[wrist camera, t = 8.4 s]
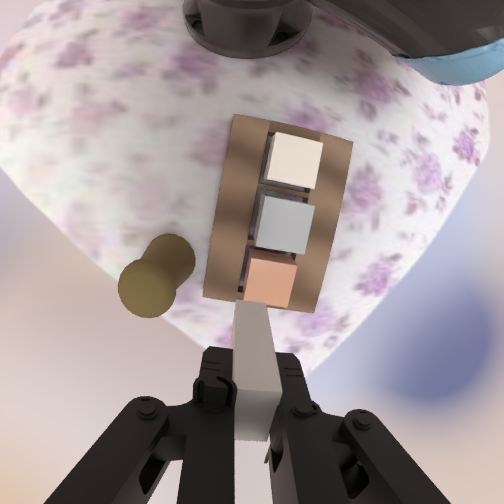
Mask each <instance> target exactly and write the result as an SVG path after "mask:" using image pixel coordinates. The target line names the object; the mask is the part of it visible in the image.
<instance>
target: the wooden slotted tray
mask: <svg viewBox="0 0 504 504" xmlns="http://www.w3.org/2000/svg"><path fill="white" fill-rule="evenodd" d="M276 132H279V133H284V134H288V135H292V136H297V137H301V138H305V139H309V140H313V141H317V142H321V143H323V147H322V152H321V158H320V163H319V168H318V174H317V179H316V184H315V189H310V188H306V192H305V193H304V192H300V191H295V190H291V189H286V188H281V187H276V186H271V185H266V184H261V183H258V181H259V176H260V171H261V166H262V160H263V155H264V150H265V145H266V140H267V135H270V136H273V135H274V134H275V133H276ZM352 146H353V142H352V141H348V140H345V139H342V138H338V137H335V136H331V135H328V134H324V133H321V132H317V131H313V130H309V129H305V128H301V127H297V126H293V125H289V124H284V123H280V122H275V121H270V120H265V119H260V118H255V117H250V116H244V115H238V114H234V118H233V123H232V127H231V132H230V137H229V142H228V147H227V152H226V157H225V163H224V168H223V173H222V179H221V184H220V189H219V195H218V201H217V206H216V212H215V218H214V224H213V230H212V236H211V242H210V249H209V255H208V262H207V268H206V275H205V282H204V289H203V296H202V297H206V298H212V299H218V300H224V301H230V302H236V299H237V300H243V287H242V286H239V281H240V276H241V270H242V265H243V260H244V254H245V249H246V244H248V245H254V246H255V242H254V238H253V237H250V236H248V233H249V228H250V223H251V217H252V212H253V207H254V202H255V197H256V191H257V188H261V189H266V190H271V191H276V192H281V193H286V194H291V195H296V196H301V197H304V201H303V202H305V203H308V204H310V205H313V206H315V209H314V213H313V218H312V223H311V227H310V232H309V236H308V241H307V245H306V249H305V254H304V255H303V254H298V253H292V258H293V260H294V261H295V263H296V264H297V270H296V274H295V278H294V283H293V287H292V291H291V295H290V299H289V303H288V306H287V308H286V307H278V306H271V305H266V306H267V307H270V308H277V309H284V310H292V311H299V312H307V313H314V311H315V307H316V304H317V300H318V297H319V293H320V290H321V286H322V282H323V279H324V275H325V271H326V267H327V263H328V259H329V256H330V252H331V247H332V243H333V239H334V235H335V231H336V226H337V222H338V218H339V213H340V208H341V204H342V199H343V194H344V189H345V184H346V179H347V174H348V169H349V163H350V158H351V152H352Z"/></svg>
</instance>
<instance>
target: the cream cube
mask: <svg viewBox="0 0 504 504" xmlns="http://www.w3.org/2000/svg"><path fill="white" fill-rule="evenodd" d="M322 147H323V143H321V142H317V141H313V140H309V139H305V138H301V137H297V136H292V135H288V134H284V133H279V132H276V133H275V134H274V135H273V137H272V138H271V142H270V148H269V153H268V158H267V163H266V168H265V173H264V178H263V179H265V180H270V181H275V182H280V183H285V184H289V185H294V186H299V187H303V188H310V189H315V184H316V179H317V174H318V168H319V163H320V158H321V152H322Z"/></svg>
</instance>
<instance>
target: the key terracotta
mask: <svg viewBox="0 0 504 504" xmlns="http://www.w3.org/2000/svg"><path fill="white" fill-rule="evenodd" d="M296 270H297V264H296V263H295V261H294V260H293V258H292V257H291V255H286V254H281V253H275V252H269V251H263V250H257V249H252V248H250V251H249V256H248V261H247V266H246V272H245V277H244V282H243V300H245V301H253V302H262V303H266V305H271V306H278V307H286V308H287V306H288V303H289V299H290V295H291V291H292V287H293V283H294V278H295V274H296Z"/></svg>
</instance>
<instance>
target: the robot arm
mask: <svg viewBox="0 0 504 504" xmlns="http://www.w3.org/2000/svg"><path fill="white" fill-rule="evenodd" d="M312 5H314V6H316V7H318V8H320V9H322V10H324V11H326V12H328V13H330V14H332V15H334V16H335V17H337V18H339V19H341V20H343V21H344V22H346V23H348V24H349V25H351V26H353V27H354V28H356V29H358V30H359V31H361V32H362V33H364V34H366V35H367V36H369V37H370V38H372V39H373V40H374V41H376V42H377V43H379V44H380V45H381V46H383V47H384V48H386V49H387V50H388V51H389V53H390V54H391V55H392V56H394V57H395V58H396V59H398V60H401V61H403V62H405V63H406V64H408V65H409V66H411V67H412V68H413V69H415V70H416V71H417V72H419V73H420V74H421V75H422V76H424V77H425V78H426V79H428V80H430V81H432V82H434V83H437V84H440V85H452V86H462V85H468V84H473V83H476V82H479V81H482V80H485V79H487V78H489V77H491V76H493V75H495V74H497V73H499V72H500V71H501V70H503V69H504V0H184V2H183V16H184V20H185V23H186V26H187V28H188V31H189V32H190V34H191V35H192V37H193V38H194V39H195V40H196V41H197V42H198V43H199V44H201V45H202V46H203V47H205V48H207V49H209V50H210V51H213V52H215V53H218V54H220V55H224V56H228V57H233V58H244V59H252V58H262V57H267V56H271V55H275V54H278V53H280V52H283V51H285V50H287V49H288V48H290V47H292V46H293V45H294V44H296V43H297V42H298V41H299V40H300V39H301V37H302V36H303V35H304V33H305V31H306V29H307V27H308V25H309V23H310V20H311V16H312ZM269 434H270V442H271V443H270V446H269V449H268V452H267V455H266V457H265V462H264V463H267V462H268V460H269V468H270V479H271V489H272V499H273V504H451V503H450V502H449V501H448V500H447V498H446V497H445V496H444V495H443V494H442V493H441V491H440V490H439V489H438V488H437V487H436V486H435V485H434V483H433V482H432V481H431V480H430V479H429V477H428V476H427V475H426V474H425V473H424V472H423V471H422V469H421V468H420V467H419V466H418V465H417V463H416V462H415V461H414V460H413V459H412V458H411V456H410V455H409V454H408V453H407V452H406V451H405V449H404V448H403V447H402V446H401V445H400V443H399V442H398V441H397V440H396V439H395V438H394V436H393V435H392V434H391V433H390V432H389V431H388V429H387V428H386V427H385V426H384V425H383V423H382V422H381V421H380V420H379V419H378V418H377V417H376V416H375V415H374V414H373V413H371V412H369V411H367V410H362V409H357V410H352V411H350V412H348V413H347V414H346V416H345V417H340V416H335V415H330V414H326V413H324V412H322V410H321V409H320V407H319V405H318V404H316V403H315V402H314V401H312V400H311V398H310V395H309V391H308V388H307V384H306V381H305V377H304V374H303V371H302V367H301V364H300V361H299V360H298V359H297V357H296V356H295V355H294V354H293V353H279V352H275V349H274V343H273V338H272V333H271V327H270V322H269V317H268V312H267V306H266V303H262V302H253V301H245V300H237V299H236V305H235V312H234V320H233V327H232V334H231V342H230V349H228V348H220V347H212V346H209V347H208V348H207V349H206V350H205V351H204V352H203V357H202V362H201V368H200V374H199V377H198V378H197V379H196V380H195V382H194V384H193V399H192V400H191V401H189V402H188V403H185V404H182V405H177V406H166V405H165V404H164V403H163V402H162V401H161V400H159V399H157V398H154V397H150V396H140V397H137V398H134V399H133V400H132V401H130V402H129V403H128V404H127V405H126V406H125V407H124V409H123V410H122V411H121V412H120V413H119V414H118V416H117V417H116V418H115V419H114V420H113V422H112V423H111V424H110V425H109V426H108V428H107V429H106V430H105V431H104V432H103V434H102V435H101V436H100V437H99V438H98V440H97V441H96V442H95V443H94V444H93V445H92V447H91V448H90V449H89V450H88V451H87V453H86V454H85V455H84V456H83V457H82V459H81V460H80V461H79V462H78V463H77V464H76V466H75V467H74V468H73V469H72V470H71V472H70V473H69V474H68V475H67V477H66V478H65V479H64V480H63V481H62V482H61V484H60V485H59V486H58V487H57V488H56V489H55V491H54V492H53V493H52V494H51V495H50V497H49V498H48V499H47V500H46V501H45V503H44V504H147V503H148V501H149V499H150V497H151V496H152V494H153V492H154V490H155V488H156V487H157V485H158V483H159V481H160V479H161V478H162V476H163V474H164V472H165V470H166V469H167V467H168V465H169V463H170V461H174V460H183V463H182V470H181V476H180V483H179V490H178V497H177V504H235V501H234V500H235V494H234V493H235V489H234V488H235V486H234V440H244V441H266V442H267V440H268V436H269Z"/></svg>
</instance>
